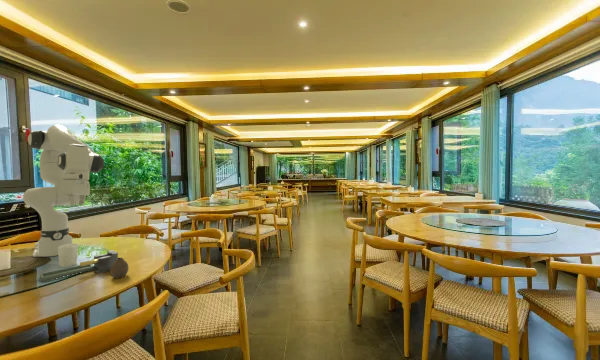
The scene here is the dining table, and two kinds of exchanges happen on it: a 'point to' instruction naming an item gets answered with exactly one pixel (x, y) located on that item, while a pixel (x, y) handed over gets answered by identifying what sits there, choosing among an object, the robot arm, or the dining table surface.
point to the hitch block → (105, 261)
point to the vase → (119, 268)
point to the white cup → (68, 254)
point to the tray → (64, 272)
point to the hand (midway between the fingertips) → (77, 204)
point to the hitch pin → (88, 263)
